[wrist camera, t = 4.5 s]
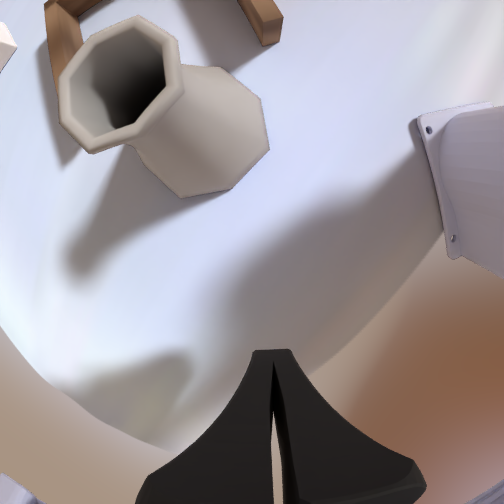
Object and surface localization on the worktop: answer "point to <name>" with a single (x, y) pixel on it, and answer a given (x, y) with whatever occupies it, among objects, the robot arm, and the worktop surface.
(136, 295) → the worktop surface
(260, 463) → the robot arm
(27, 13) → the worktop surface
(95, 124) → the flask
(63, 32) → the box
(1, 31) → the milk
